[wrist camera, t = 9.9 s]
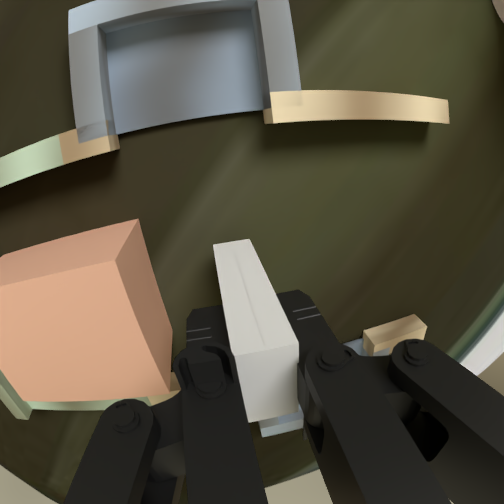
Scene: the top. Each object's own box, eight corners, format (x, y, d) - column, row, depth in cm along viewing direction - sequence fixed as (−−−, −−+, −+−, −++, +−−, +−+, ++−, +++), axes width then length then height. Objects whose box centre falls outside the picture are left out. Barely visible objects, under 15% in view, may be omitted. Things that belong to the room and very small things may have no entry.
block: (5, 253, 12) (-42, 296, 8) (139, 217, 13) (115, 260, 8) (48, 345, 14) (23, 401, 10) (172, 328, 15) (170, 393, 11)
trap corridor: (415, 12, 10) (445, 2, 8) (397, 378, 20) (413, 399, 18) (-74, 109, 7) (-101, 113, 5) (61, 435, 17) (55, 459, 15)
